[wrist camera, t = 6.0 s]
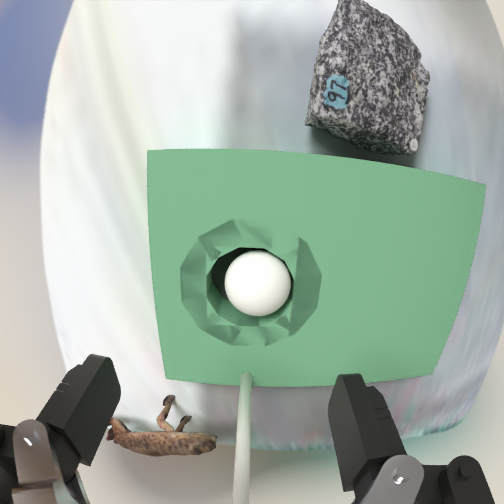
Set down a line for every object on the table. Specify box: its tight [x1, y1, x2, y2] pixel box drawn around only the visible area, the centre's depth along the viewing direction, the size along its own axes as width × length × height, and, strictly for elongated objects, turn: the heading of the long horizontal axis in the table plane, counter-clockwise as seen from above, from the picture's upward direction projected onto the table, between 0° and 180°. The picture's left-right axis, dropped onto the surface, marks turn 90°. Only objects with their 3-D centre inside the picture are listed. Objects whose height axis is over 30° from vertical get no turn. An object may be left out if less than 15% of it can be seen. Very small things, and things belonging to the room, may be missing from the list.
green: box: [147, 149, 486, 387], centre depth 19 cm, size 16×22×2 cm
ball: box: [225, 250, 291, 316], centre depth 18 cm, size 4×4×4 cm
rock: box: [305, 0, 430, 155], centre depth 14 cm, size 8×10×4 cm
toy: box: [106, 395, 217, 456], centre depth 22 cm, size 6×9×15 cm
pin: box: [232, 372, 252, 504], centre depth 14 cm, size 3×1×12 cm, turn 178°
